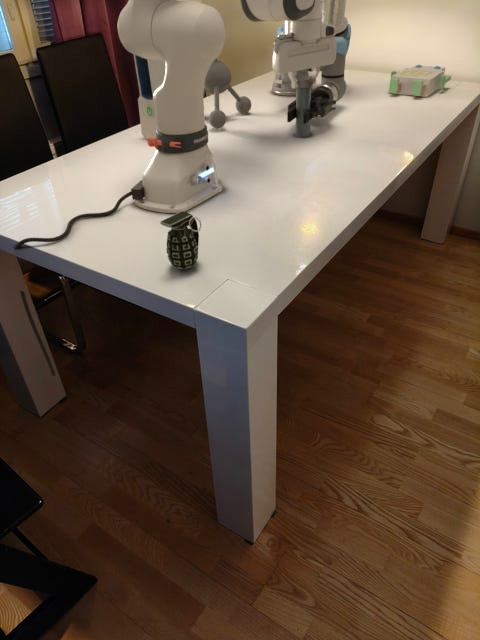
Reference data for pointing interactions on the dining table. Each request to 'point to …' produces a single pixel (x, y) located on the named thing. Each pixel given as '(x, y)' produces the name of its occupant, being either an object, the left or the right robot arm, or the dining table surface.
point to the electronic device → (148, 92)
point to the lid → (305, 81)
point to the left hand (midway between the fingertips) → (303, 86)
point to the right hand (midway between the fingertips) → (296, 118)
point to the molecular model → (217, 84)
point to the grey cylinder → (302, 111)
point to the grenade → (182, 240)
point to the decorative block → (418, 80)
